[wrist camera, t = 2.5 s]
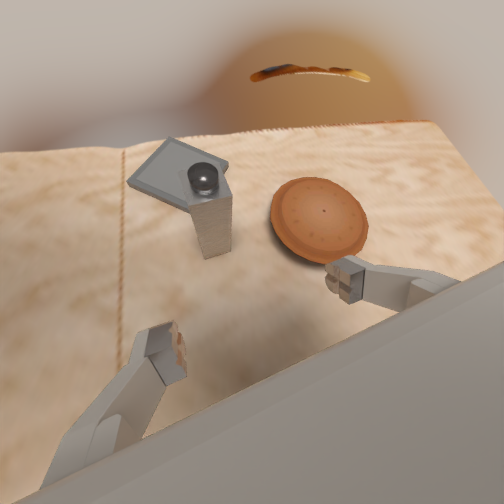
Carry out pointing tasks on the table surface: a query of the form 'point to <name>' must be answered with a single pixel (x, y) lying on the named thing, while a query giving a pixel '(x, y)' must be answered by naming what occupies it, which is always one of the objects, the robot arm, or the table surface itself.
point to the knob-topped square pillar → (209, 206)
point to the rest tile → (170, 171)
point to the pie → (318, 219)
